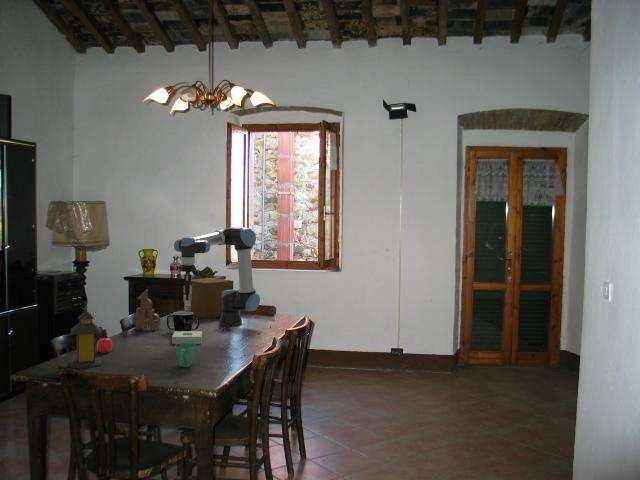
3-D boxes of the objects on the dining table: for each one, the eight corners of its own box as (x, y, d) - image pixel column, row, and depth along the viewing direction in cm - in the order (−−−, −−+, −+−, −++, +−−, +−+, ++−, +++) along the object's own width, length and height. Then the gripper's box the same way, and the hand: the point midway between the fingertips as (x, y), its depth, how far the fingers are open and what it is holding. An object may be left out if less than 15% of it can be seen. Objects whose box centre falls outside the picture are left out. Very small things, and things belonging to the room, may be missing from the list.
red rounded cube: (96, 350, 317) (96, 335, 317) (112, 349, 320) (112, 334, 320) (96, 354, 310) (96, 338, 309) (113, 353, 313) (113, 337, 313)
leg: (191, 309, 347) (191, 285, 346) (191, 310, 343) (191, 286, 342) (183, 309, 346) (184, 285, 346) (183, 310, 342) (183, 286, 341)
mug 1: (177, 336, 358) (177, 316, 357) (164, 331, 370) (164, 312, 369) (201, 333, 369) (201, 313, 368) (188, 328, 381) (188, 310, 380)
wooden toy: (160, 328, 379) (161, 289, 378) (156, 330, 373) (156, 290, 372) (137, 327, 382) (137, 288, 381) (132, 329, 375) (132, 289, 374)
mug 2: (177, 363, 294) (177, 342, 294) (197, 363, 295) (197, 343, 294) (170, 370, 280) (170, 349, 279) (192, 371, 280) (192, 349, 280)
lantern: (70, 368, 280) (70, 304, 279) (69, 361, 293) (69, 300, 292) (102, 366, 286) (102, 303, 285) (100, 359, 299) (100, 299, 298)
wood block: (184, 314, 435) (184, 279, 434) (212, 310, 453) (212, 277, 452) (205, 318, 418) (205, 283, 417) (233, 314, 436) (233, 280, 435)
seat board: (202, 337, 354) (202, 331, 354) (201, 343, 339) (201, 336, 338) (174, 338, 352) (174, 331, 352) (171, 344, 336) (172, 337, 336)
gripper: (182, 263, 351) (181, 303, 352) (180, 265, 334) (179, 307, 335) (195, 263, 352) (195, 303, 354) (193, 265, 335) (193, 307, 336)
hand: (187, 305), depth 344 cm, fingers closed on leg, 4 cm apart
